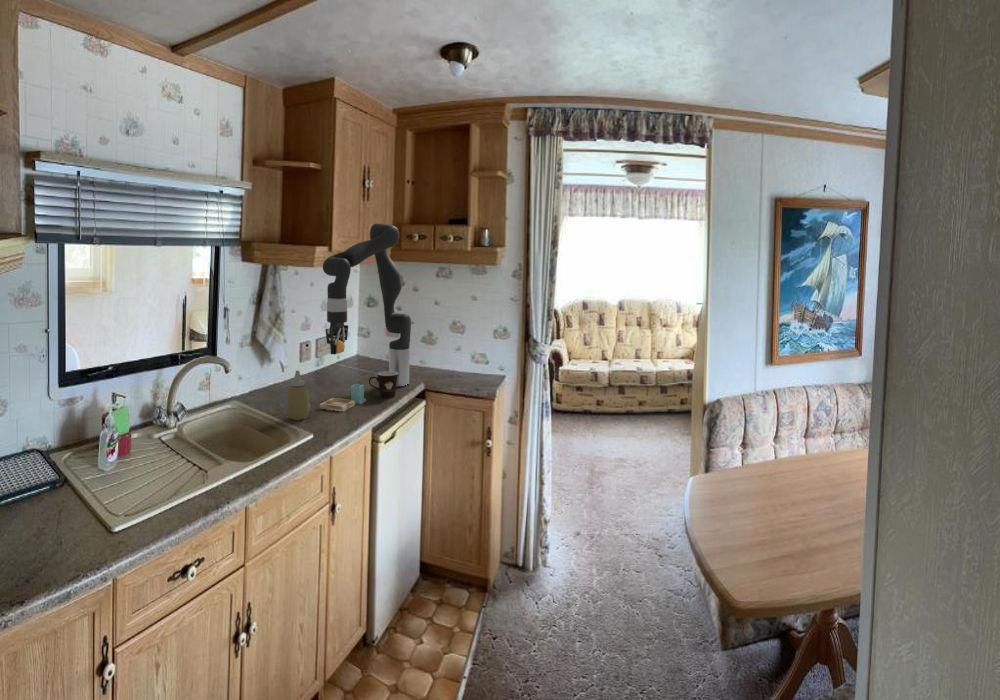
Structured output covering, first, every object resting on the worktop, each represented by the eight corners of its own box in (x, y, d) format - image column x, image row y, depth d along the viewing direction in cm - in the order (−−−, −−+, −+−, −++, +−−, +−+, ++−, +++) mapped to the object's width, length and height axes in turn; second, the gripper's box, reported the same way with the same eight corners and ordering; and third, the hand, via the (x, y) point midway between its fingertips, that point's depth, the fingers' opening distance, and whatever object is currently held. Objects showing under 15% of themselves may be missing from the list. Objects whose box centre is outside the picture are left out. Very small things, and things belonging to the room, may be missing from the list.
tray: (332, 402, 233) (332, 397, 233) (355, 404, 231) (355, 400, 231) (319, 409, 223) (319, 404, 223) (343, 411, 221) (343, 406, 221)
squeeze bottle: (282, 419, 209) (280, 371, 206) (297, 413, 216) (296, 367, 213) (300, 422, 206) (298, 374, 203) (315, 416, 213) (313, 370, 210)
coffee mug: (400, 394, 250) (400, 371, 248) (394, 399, 241) (394, 376, 240) (374, 392, 251) (374, 370, 249) (368, 397, 242) (367, 374, 241)
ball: (334, 351, 226) (334, 338, 225) (347, 352, 225) (347, 339, 224) (327, 354, 221) (327, 340, 220) (340, 355, 220) (340, 341, 219)
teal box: (354, 400, 238) (354, 383, 237) (365, 401, 237) (365, 384, 236) (349, 403, 233) (348, 386, 232) (360, 404, 232) (360, 387, 231)
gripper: (337, 307, 228) (337, 349, 231) (318, 311, 214) (319, 355, 217) (354, 308, 226) (354, 350, 229) (336, 312, 213) (337, 356, 215)
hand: (337, 352), depth 223 cm, fingers closed on ball, 5 cm apart
